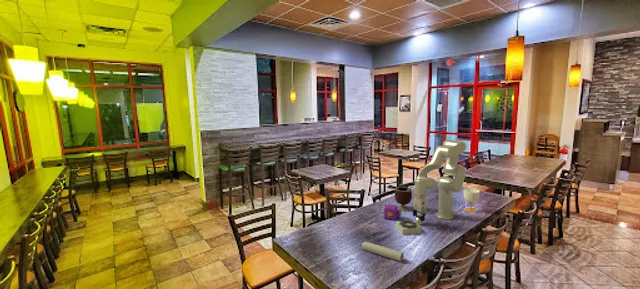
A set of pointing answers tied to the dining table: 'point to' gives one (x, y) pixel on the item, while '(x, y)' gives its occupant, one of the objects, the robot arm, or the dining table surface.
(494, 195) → the dining table surface
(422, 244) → the dining table surface
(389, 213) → the toy camera
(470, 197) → the cup
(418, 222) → the lens
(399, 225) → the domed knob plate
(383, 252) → the tube
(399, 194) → the mate gourd
